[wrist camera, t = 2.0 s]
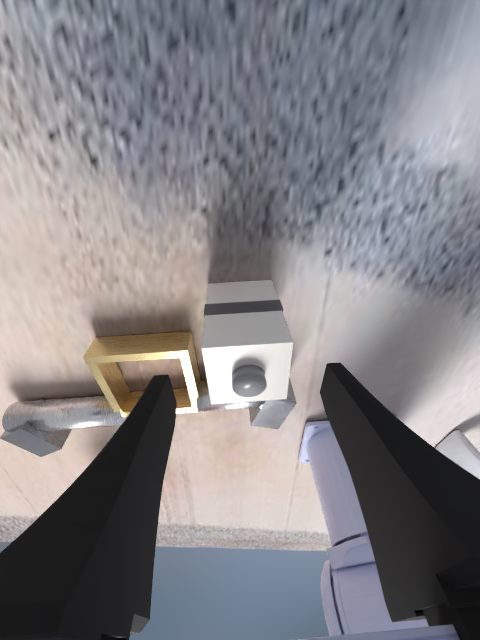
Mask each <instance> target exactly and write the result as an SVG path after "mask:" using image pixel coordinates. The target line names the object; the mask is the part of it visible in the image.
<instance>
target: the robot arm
mask: <svg viewBox="0 0 480 640" xmlns="http://www.w3.org/2000/svg"><path fill="white" fill-rule="evenodd" d="M320 394H321V398H322V401H323V405H324V408H325V412H326V415H327V417H328V420H329V421H316V422H308V423H307V424H306V425H305V429H304V434H303V439H302V444H301V448H300V453H299V462H301V463H306V462H310V466H311V470H312V473H313V477H314V481H315V484H316V488H317V492H318V496H319V499H320V503H321V507H322V511H323V514H324V518H325V522H326V525H327V529H328V533H329V537H330V540H331V544H332V548H328V549H327V553H328V557H329V560H328V561H326V562H325V564H324V567H323V572H322V576H321V594H322V602H323V608H324V613H325V618H326V623H327V627H328V631H329V635H330V636H326V637H315V638H305V639H294V640H480V479H478V478H477V477H475V476H474V475H472V474H471V473H469V472H468V471H466V470H465V469H463V468H462V467H461V466H459V465H458V464H456V463H455V462H453V461H452V460H451V459H449V458H448V457H446V456H445V455H443V454H442V453H441V452H439V451H438V450H436V449H435V448H434V447H432V446H431V445H430V444H428V443H427V442H426V441H425V440H423V439H422V438H421V437H419V436H418V435H417V434H416V433H414V432H413V431H412V430H411V429H409V428H408V427H407V426H406V425H405V424H404V423H402V422H401V421H400V420H399V419H398V417H397V416H394V415H393V414H392V413H391V412H390V411H389V410H388V409H387V408H385V407H384V406H383V405H382V404H381V403H380V402H379V401H378V400H377V399H376V398H375V397H374V396H373V395H372V394H371V393H370V392H369V391H368V390H367V389H366V388H365V387H364V386H363V385H362V384H361V383H360V382H359V381H358V380H357V379H356V378H355V377H354V376H353V375H352V374H351V373H350V372H349V371H348V370H347V369H346V368H345V367H344V366H343V365H342V364H341V363H328V364H327V365H326V369H325V374H324V378H323V382H322V386H321V390H320ZM176 408H177V401H176V398H175V395H174V391H173V388H172V385H171V382H170V379H169V375H157V376H154V377H153V378H152V380H151V381H150V383H149V384H148V386H147V388H146V389H145V391H144V392H143V394H142V396H141V397H140V399H139V400H138V402H137V403H136V405H135V406H134V408H133V409H132V411H131V412H130V413H129V415H128V416H127V418H126V419H125V421H124V422H123V423H122V425H121V426H120V427H119V429H118V430H117V431H116V433H115V434H114V435H113V437H112V438H111V439H110V441H109V442H108V443H107V445H106V446H105V447H104V448H103V449H102V451H101V452H100V453H99V454H98V456H97V457H96V458H95V459H94V460H93V461H92V463H91V464H90V465H89V466H88V467H87V468H86V469H85V471H84V472H83V473H82V474H81V475H80V476H79V477H78V478H77V479H76V480H75V481H74V483H73V484H72V485H71V486H70V487H69V488H68V489H67V490H66V491H65V492H64V493H63V494H62V495H61V496H60V497H59V498H58V499H57V500H56V501H55V502H54V503H53V504H52V505H51V506H50V507H49V508H48V509H47V510H46V511H45V512H44V513H43V514H42V515H41V516H40V517H39V518H38V519H37V520H36V521H35V522H34V523H33V524H32V525H31V526H30V527H28V528H27V529H26V530H25V531H24V532H23V533H22V534H21V535H20V536H19V537H18V538H16V539H15V540H14V541H13V542H12V543H11V544H10V545H9V546H7V547H6V548H5V549H4V550H3V551H2V552H1V553H0V640H129V637H130V634H133V633H140V632H141V631H142V630H143V628H144V627H145V626H146V624H147V623H148V621H149V620H150V606H151V593H152V579H153V567H154V556H155V545H156V535H157V526H158V517H159V508H160V500H161V492H162V485H163V479H164V474H165V470H166V465H167V460H168V455H169V451H170V446H171V441H172V436H173V432H174V427H175V419H176Z"/></svg>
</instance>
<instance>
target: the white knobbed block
mask: <svg viewBox="0 0 480 640" xmlns="http://www.w3.org/2000/svg"><path fill="white" fill-rule="evenodd" d="M204 319H205V320H204V329H203V339H202V354H203V360H204V365H205V371H206V377H207V382H208V388H209V394H210V399H211V404H224V403H238V402H252V401H266V400H280V399H287V392H288V383H289V375H290V366H291V357H292V349H293V340H292V337H291V334H290V331H289V329H288V326H287V323H286V320H285V317H284V314H283V307H282V305H281V302H280V300H278V297H277V294H276V291H275V288H274V285H273V282H272V280H261V281H244V282H228V283H211V284H208V291H207V301H206V304H205V309H204Z"/></svg>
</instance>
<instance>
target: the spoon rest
mask: <svg viewBox="0 0 480 640" xmlns="http://www.w3.org/2000/svg"><path fill="white" fill-rule="evenodd" d="M435 449H436V450H438V451H439V452H441V453H442V454H443V455H445V456H446V457H448V458H449V459H451V460H452V461H453V462H455V463H456V464H458V465H459V466H461V467H462V468H463V469H465V470H466V471H468V472H469V473H471V474H472V475H474V476H475V477H477V478H478V479H480V453H479V451H478V450H477V449H476V448H475V447H474V446H473V445H472V443H471V442H470V441H469V440H468V439H467V438H466V436H465V435H464V434H463V433H462V432H461V431H459V430H455V431H453V432H452V433H451V434H449V435H448V436H447V437H446V438H445V439H444V440H443V441H442V442H441V443H440V444H438V446H437V447H436V448H435Z"/></svg>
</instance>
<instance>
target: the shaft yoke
mask: <svg viewBox="0 0 480 640" xmlns="http://www.w3.org/2000/svg"><path fill="white" fill-rule="evenodd" d="M83 358H84V360H85V362H86V364H87V365H88V367H89V369H90V371H91V372H92V374H93V376H94V378H95V379H96V381H97V383H98V385H99V386H100V388H101V390H102V392H103V393H104V395H105V396H95V397H81V398H67V399H52V400H46V399H44V398H41V399H39V400H37V401H24V402H15V403H13V404H12V405H10V406H9V407H8V408H7V410H6V411H5V413H4V416H3V420H2V424H3V428H4V430H5V432H4V433H3V434H2V436H1V437H0V438H1V439H3V440H5V441H7V442H9V443H12V444H14V445H16V446H18V447H20V448H23V449H25V450H27V451H29V452H31V453H34V454H36V455H38V456H40V457H42V456H45V455H47V454H50V453H52V452H55V451H58V450H60V449H62V447H63V445H64V443H65V441H66V439H67V437H68V435H69V434H70V432H71V430H72V429H76V428H90V427H104V426H118V425H122V423H123V422H124V421H125V419H126V418H127V416H128V415H129V413H130V412H131V411H132V409H133V408H134V406H135V405H136V403H137V402H138V400H139V399H140V397H141V396H142V394H143V392H144V391H135V392H130V390H129V388H128V386H127V384H126V381H125V379H124V377H123V375H122V373H121V371H120V369H119V367H118V364H117V362H125V361H139V360H154V359H169V358H180V360H181V363H182V367H183V371H184V375H185V379H186V383H187V387H188V388H178V389H173V391H174V395H175V398H176V401H177V408H176V413H189V412H206V411H220V410H234V409H248V408H249V411H250V421H251V426H258V427H265V428H273V429H278V428H279V427H280V426H281V424H282V423H283V422H284V420H285V419H286V417H287V416H288V415H289V413H290V412H291V410H292V409H293V408H294V406H295V405H296V400H295V396H294V392H293V389H292V385H291V382H290V378H289V383H288V392H287V399H280V400H266V401H252V402H238V403H224V404H211V399H210V394H209V388H208V382H207V381H201V379H200V374H199V369H198V364H197V359H196V354H195V349H194V344H193V339H192V334H191V331H187V332H171V333H156V334H141V335H125V336H110V337H96V338H95V340H94V341H93V343H92V344H91V346H90V347H89V349H88V350H87V352H86V353H85V355H84V357H83Z"/></svg>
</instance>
